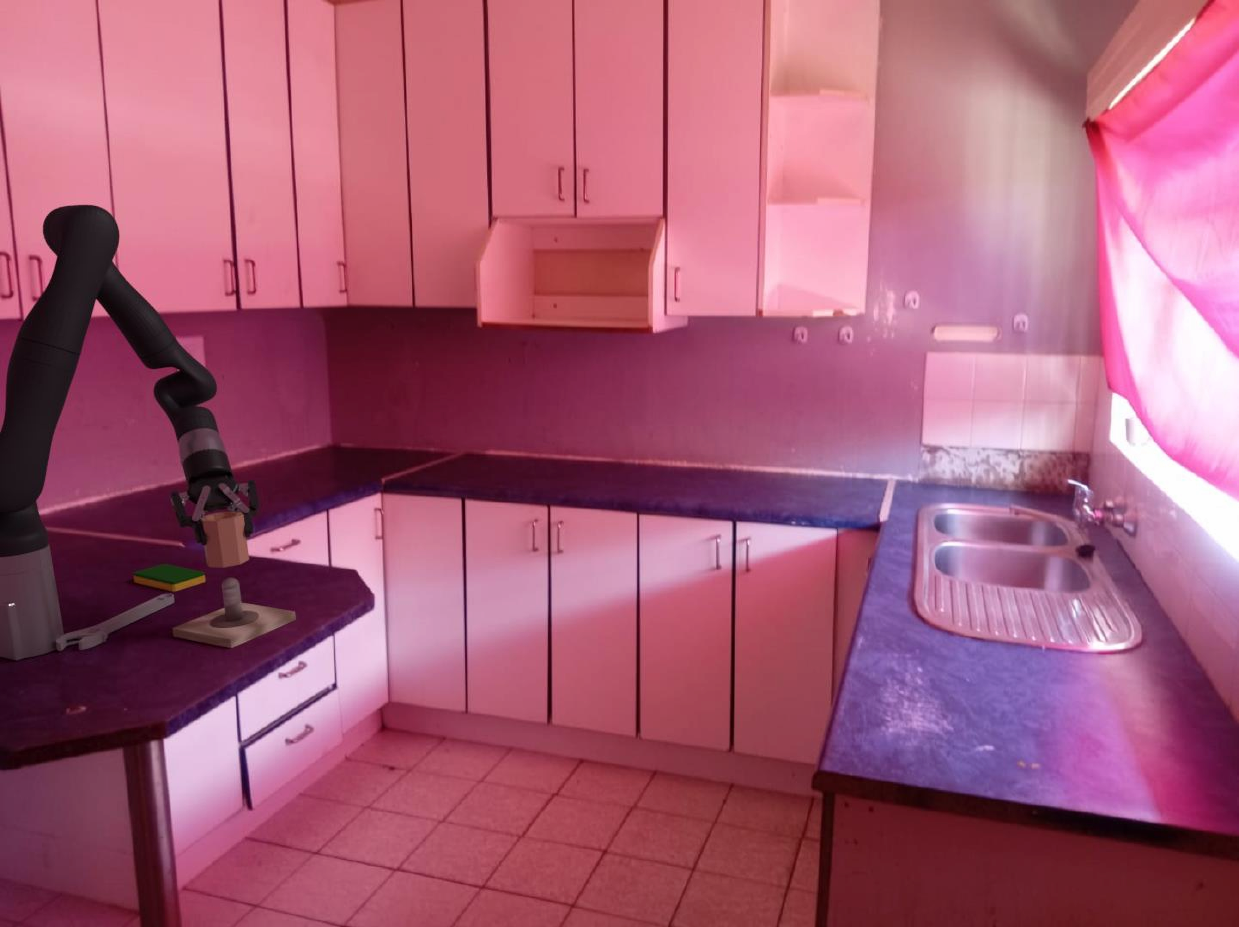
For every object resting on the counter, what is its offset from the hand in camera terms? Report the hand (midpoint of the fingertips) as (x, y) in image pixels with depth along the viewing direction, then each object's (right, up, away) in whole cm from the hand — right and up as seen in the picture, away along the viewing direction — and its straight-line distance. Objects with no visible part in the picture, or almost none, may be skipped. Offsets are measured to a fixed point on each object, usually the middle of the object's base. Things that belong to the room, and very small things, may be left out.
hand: (226, 538), depth 162 cm
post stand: (0, -16, +4) cm, 16 cm away
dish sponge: (-25, -12, +33) cm, 43 cm away
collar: (-1, -4, +2) cm, 5 cm away
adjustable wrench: (-21, -16, +8) cm, 28 cm away
